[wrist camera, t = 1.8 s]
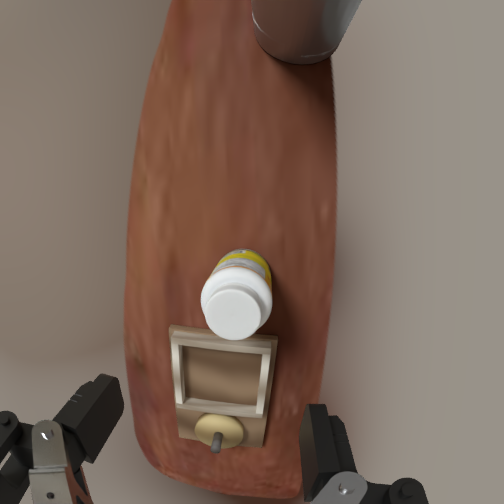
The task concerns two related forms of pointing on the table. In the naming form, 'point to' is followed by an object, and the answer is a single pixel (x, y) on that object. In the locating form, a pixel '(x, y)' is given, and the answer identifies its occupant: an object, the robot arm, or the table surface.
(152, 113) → the table surface
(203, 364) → the board
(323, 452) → the robot arm
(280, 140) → the table surface
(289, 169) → the table surface
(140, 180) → the table surface
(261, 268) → the supplement bottle
